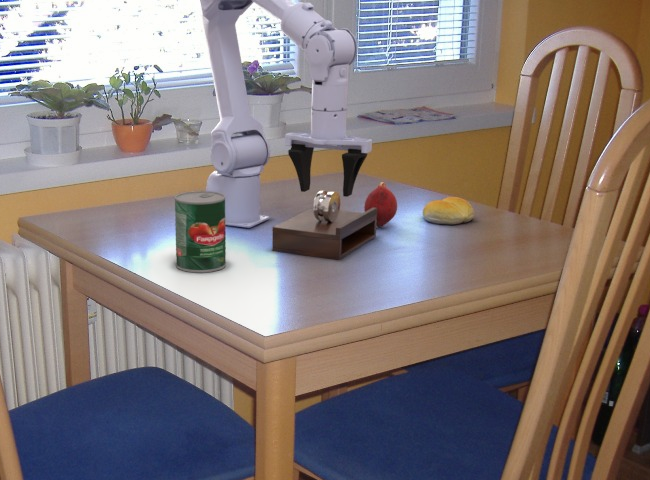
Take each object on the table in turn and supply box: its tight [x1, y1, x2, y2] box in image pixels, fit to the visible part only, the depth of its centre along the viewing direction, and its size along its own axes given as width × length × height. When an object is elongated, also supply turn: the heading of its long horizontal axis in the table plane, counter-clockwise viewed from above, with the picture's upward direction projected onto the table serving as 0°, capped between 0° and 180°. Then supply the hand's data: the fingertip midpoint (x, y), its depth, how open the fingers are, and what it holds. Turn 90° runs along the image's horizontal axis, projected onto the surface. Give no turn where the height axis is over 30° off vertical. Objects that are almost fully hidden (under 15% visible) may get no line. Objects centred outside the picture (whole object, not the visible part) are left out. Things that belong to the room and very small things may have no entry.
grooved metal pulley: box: [312, 189, 341, 222], centre depth 171 cm, size 5×3×5 cm, turn 151°
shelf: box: [271, 207, 377, 261], centre depth 172 cm, size 12×16×5 cm
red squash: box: [363, 181, 398, 228], centre depth 182 cm, size 6×6×8 cm
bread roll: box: [422, 196, 475, 225], centre depth 187 cm, size 8×9×4 cm
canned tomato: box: [174, 190, 227, 274], centre depth 160 cm, size 8×8×11 cm
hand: (326, 193), depth 170 cm, fingers open, 7 cm apart
